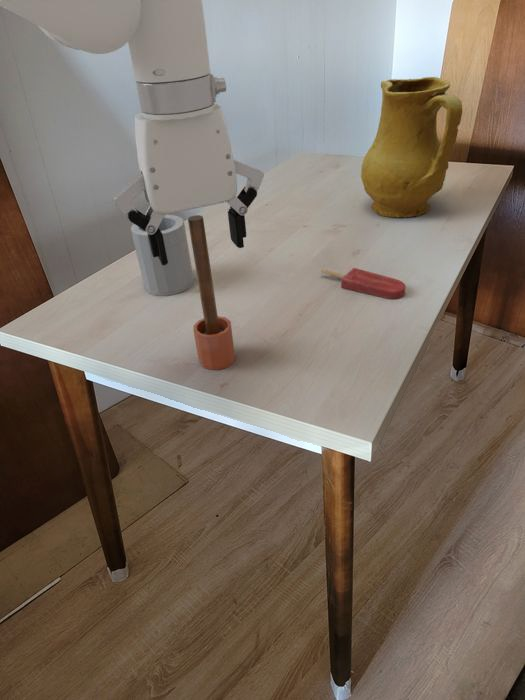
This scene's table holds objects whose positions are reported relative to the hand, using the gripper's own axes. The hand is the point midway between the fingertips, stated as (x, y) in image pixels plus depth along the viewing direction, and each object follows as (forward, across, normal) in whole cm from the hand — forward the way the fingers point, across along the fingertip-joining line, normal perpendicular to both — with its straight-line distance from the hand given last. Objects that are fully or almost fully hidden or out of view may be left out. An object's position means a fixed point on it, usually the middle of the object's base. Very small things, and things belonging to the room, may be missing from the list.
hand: (200, 252), depth 63 cm
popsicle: (+16, -28, -9) cm, 33 cm away
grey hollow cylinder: (+16, +2, -26) cm, 30 cm away
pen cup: (+16, 0, 0) cm, 16 cm away
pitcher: (+16, -52, -35) cm, 64 cm away
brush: (+16, 0, 0) cm, 16 cm away
